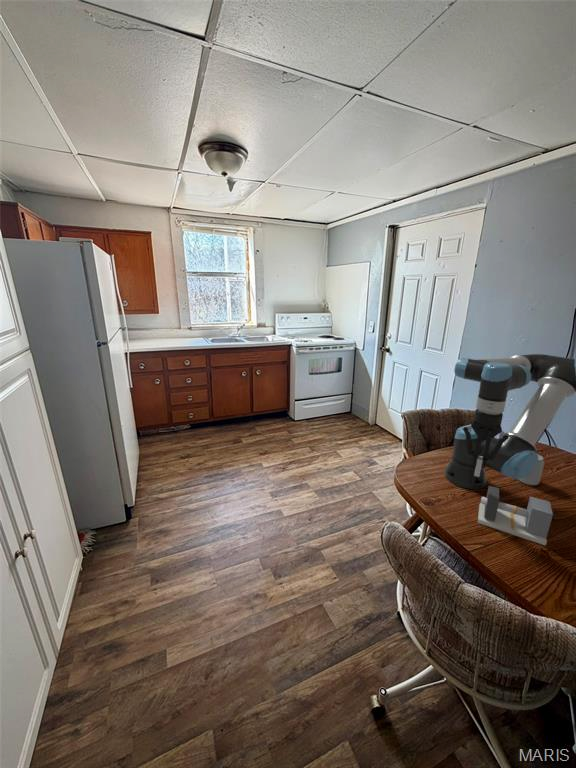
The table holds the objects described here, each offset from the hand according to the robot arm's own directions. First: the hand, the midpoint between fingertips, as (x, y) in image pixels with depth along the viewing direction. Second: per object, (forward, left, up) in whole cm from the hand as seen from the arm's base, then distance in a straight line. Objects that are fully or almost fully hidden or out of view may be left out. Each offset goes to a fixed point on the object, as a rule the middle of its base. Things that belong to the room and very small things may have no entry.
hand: (477, 474), depth 104 cm
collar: (+6, 0, -13) cm, 14 cm away
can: (+19, +34, -16) cm, 42 cm away
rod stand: (+12, 0, -15) cm, 19 cm away
